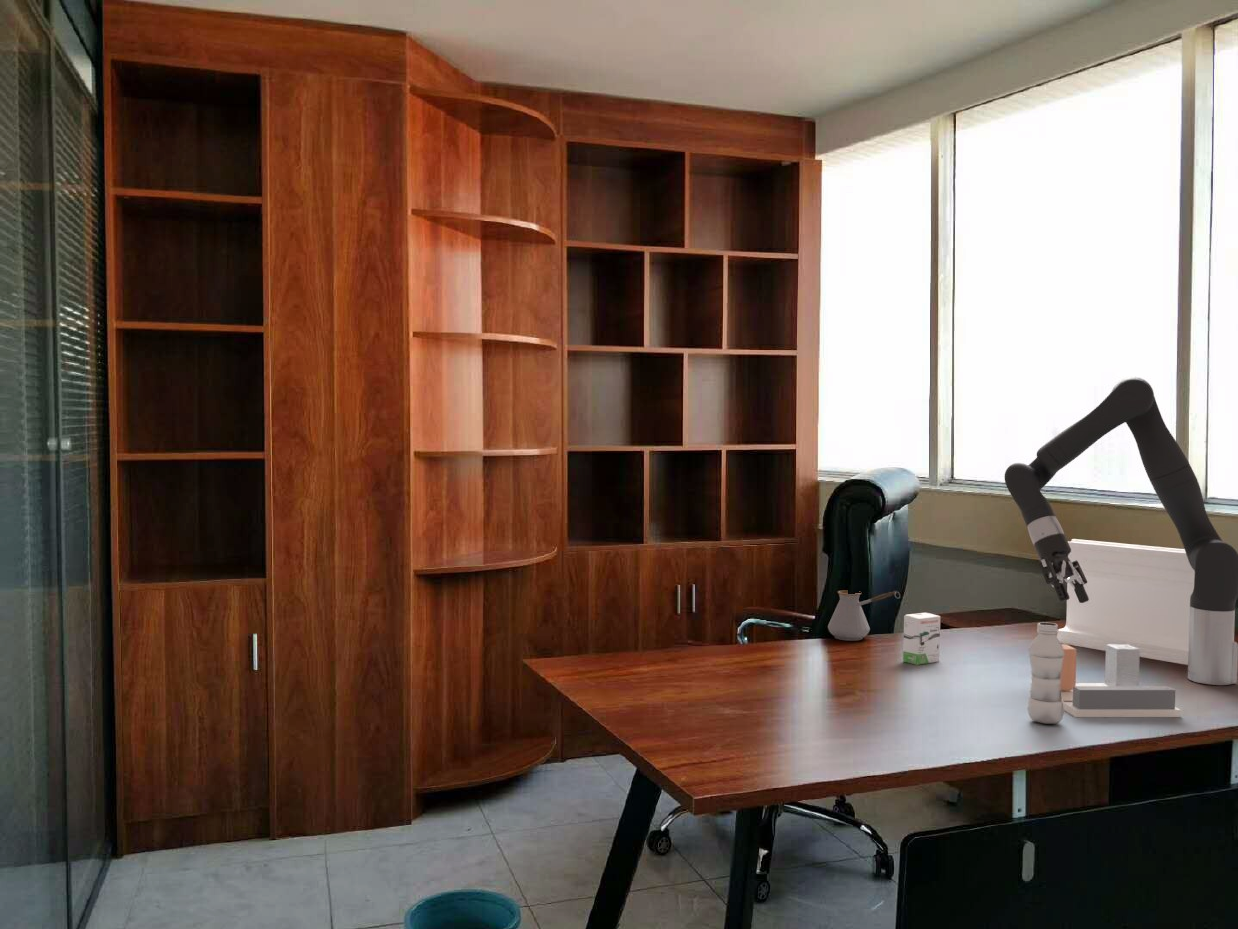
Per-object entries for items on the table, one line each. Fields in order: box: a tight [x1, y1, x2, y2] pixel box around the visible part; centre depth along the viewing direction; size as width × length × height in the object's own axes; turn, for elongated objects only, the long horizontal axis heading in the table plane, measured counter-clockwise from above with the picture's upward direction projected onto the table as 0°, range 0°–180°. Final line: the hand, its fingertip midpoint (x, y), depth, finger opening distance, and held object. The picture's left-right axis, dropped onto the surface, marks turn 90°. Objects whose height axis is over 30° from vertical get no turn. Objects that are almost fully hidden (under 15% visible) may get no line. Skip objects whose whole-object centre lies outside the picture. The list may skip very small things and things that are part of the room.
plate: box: [1030, 682, 1182, 718], centre depth 229 cm, size 22×22×6 cm
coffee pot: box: [827, 589, 901, 642], centre depth 291 cm, size 21×12×15 cm, turn 44°
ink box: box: [902, 612, 941, 666], centre depth 267 cm, size 9×5×12 cm, turn 123°
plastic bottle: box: [1027, 621, 1065, 725], centre depth 213 cm, size 6×7×20 cm
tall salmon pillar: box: [1060, 643, 1077, 690], centre depth 234 cm, size 5×5×9 cm
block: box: [1056, 538, 1195, 666], centre depth 280 cm, size 35×8×28 cm, turn 41°
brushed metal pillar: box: [1104, 644, 1141, 686], centre depth 234 cm, size 5×5×9 cm
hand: (1075, 601), depth 250 cm, fingers open, 8 cm apart
